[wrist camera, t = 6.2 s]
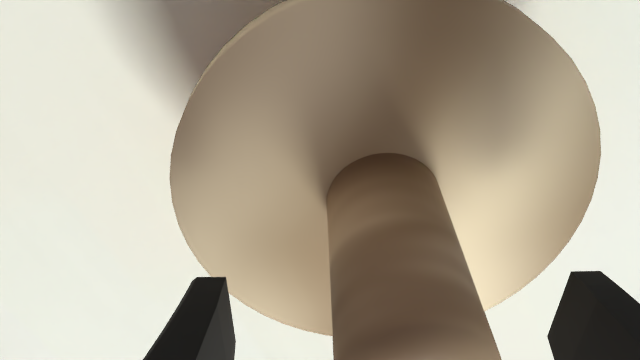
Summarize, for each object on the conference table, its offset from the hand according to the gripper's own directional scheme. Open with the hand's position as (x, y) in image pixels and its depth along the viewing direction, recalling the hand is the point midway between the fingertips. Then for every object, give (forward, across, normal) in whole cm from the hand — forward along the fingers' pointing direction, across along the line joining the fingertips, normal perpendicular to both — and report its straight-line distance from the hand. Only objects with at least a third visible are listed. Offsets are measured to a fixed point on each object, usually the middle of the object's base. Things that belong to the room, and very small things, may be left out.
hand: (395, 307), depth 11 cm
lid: (+3, 0, -1) cm, 4 cm away
